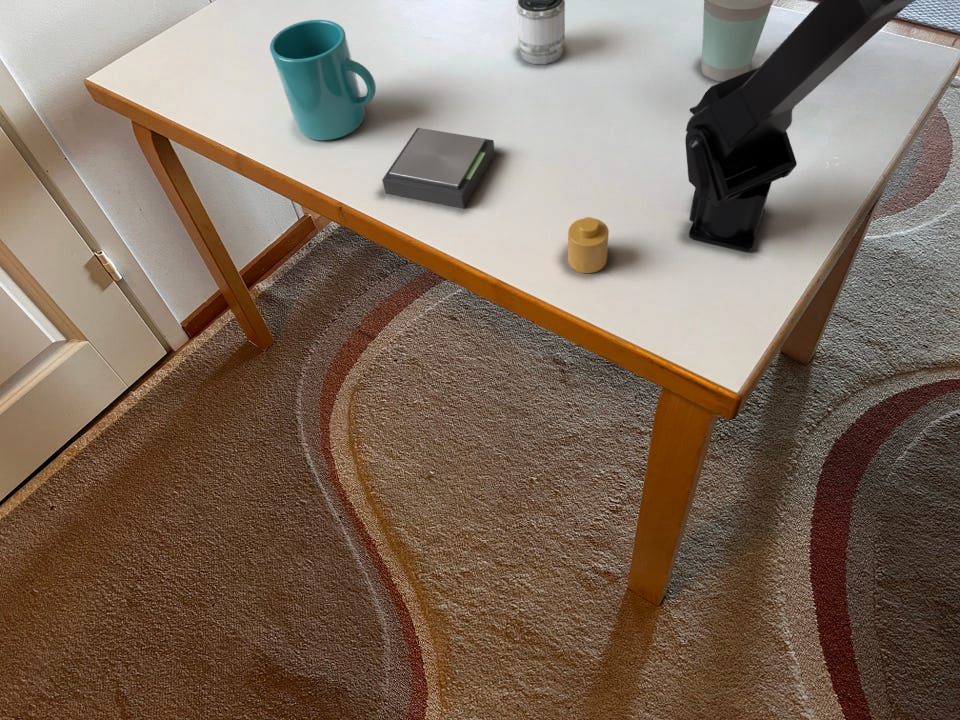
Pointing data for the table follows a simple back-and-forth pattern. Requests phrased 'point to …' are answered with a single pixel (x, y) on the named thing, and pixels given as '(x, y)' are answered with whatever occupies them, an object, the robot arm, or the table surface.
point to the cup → (321, 79)
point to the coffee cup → (731, 36)
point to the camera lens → (541, 30)
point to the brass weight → (587, 245)
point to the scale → (439, 167)
